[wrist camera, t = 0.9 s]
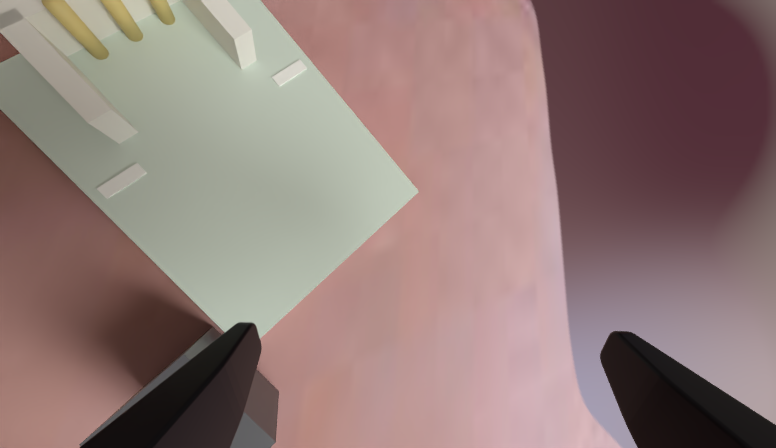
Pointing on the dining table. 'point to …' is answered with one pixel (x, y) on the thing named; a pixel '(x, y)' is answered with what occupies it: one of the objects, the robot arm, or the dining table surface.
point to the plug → (259, 410)
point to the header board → (202, 143)
